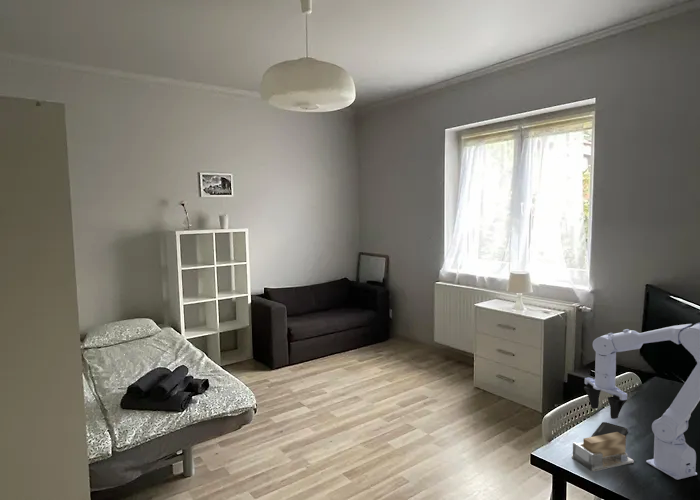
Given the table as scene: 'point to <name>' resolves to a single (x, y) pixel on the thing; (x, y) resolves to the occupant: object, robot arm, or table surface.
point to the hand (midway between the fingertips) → (604, 413)
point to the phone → (609, 429)
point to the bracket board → (598, 458)
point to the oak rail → (606, 444)
